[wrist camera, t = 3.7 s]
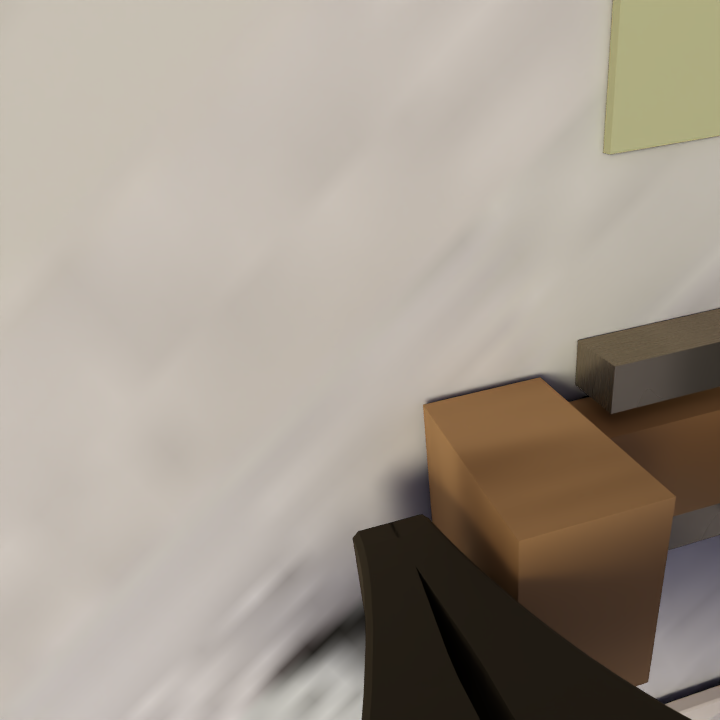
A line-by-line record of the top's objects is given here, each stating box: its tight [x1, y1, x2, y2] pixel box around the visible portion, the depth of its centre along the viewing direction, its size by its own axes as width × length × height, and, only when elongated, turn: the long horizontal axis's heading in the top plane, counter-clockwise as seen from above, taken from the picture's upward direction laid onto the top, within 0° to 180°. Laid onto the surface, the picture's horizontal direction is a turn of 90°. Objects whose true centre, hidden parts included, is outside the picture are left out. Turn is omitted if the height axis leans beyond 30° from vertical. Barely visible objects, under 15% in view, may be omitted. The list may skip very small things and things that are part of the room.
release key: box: [423, 377, 720, 686], centre depth 12 cm, size 4×8×4 cm, turn 97°
